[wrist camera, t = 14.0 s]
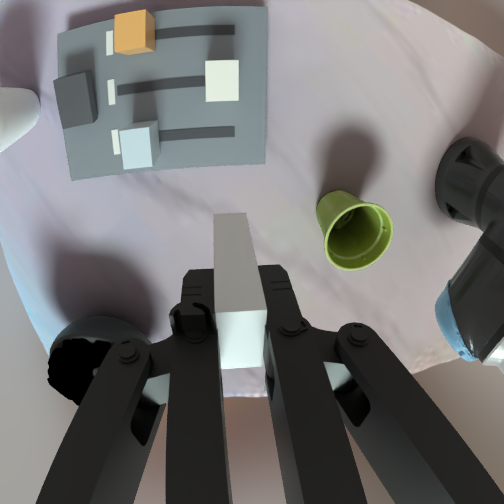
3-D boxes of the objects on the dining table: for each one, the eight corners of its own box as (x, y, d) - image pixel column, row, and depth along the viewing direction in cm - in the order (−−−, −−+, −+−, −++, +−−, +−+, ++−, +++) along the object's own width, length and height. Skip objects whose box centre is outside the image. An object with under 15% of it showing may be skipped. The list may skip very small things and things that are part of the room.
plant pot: (327, 166, 39) (353, 189, 32) (375, 196, 42) (406, 223, 35) (292, 222, 43) (309, 256, 36) (342, 245, 46) (364, 279, 39)
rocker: (90, 69, 24) (85, 72, 23) (97, 118, 29) (93, 123, 28) (59, 77, 24) (53, 81, 23) (68, 124, 28) (62, 129, 27)
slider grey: (157, 120, 30) (148, 127, 26) (160, 154, 32) (152, 166, 28) (131, 123, 30) (119, 131, 26) (135, 156, 32) (123, 169, 28)
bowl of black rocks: (168, 369, 58) (165, 452, 42) (77, 357, 54) (58, 434, 38) (168, 296, 47) (157, 398, 32) (55, 283, 43) (14, 371, 28)
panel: (263, 12, 27) (268, 5, 24) (261, 157, 37) (265, 165, 34) (67, 36, 25) (54, 33, 22) (80, 173, 35) (69, 182, 32)
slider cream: (234, 62, 28) (238, 60, 24) (234, 97, 30) (238, 100, 26) (206, 63, 27) (205, 60, 23) (206, 98, 30) (205, 101, 25)
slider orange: (154, 18, 24) (145, 9, 19) (155, 51, 26) (145, 46, 22) (128, 22, 23) (114, 14, 19) (128, 55, 25) (114, 52, 21)
